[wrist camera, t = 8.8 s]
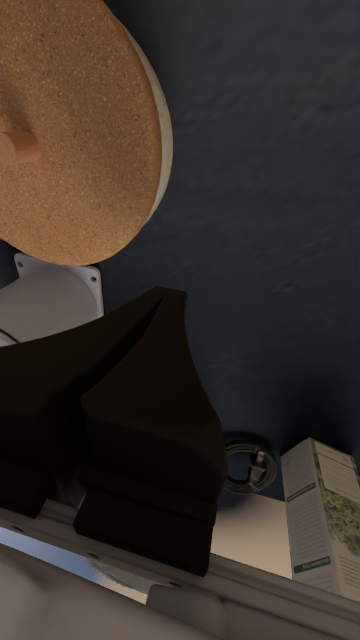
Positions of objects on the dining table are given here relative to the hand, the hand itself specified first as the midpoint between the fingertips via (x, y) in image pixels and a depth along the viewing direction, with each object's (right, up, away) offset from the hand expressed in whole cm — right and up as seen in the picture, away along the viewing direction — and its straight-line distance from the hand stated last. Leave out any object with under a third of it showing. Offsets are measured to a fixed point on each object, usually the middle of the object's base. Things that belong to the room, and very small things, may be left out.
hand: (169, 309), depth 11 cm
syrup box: (+16, -16, +20) cm, 30 cm away
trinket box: (-4, +11, +6) cm, 14 cm away
